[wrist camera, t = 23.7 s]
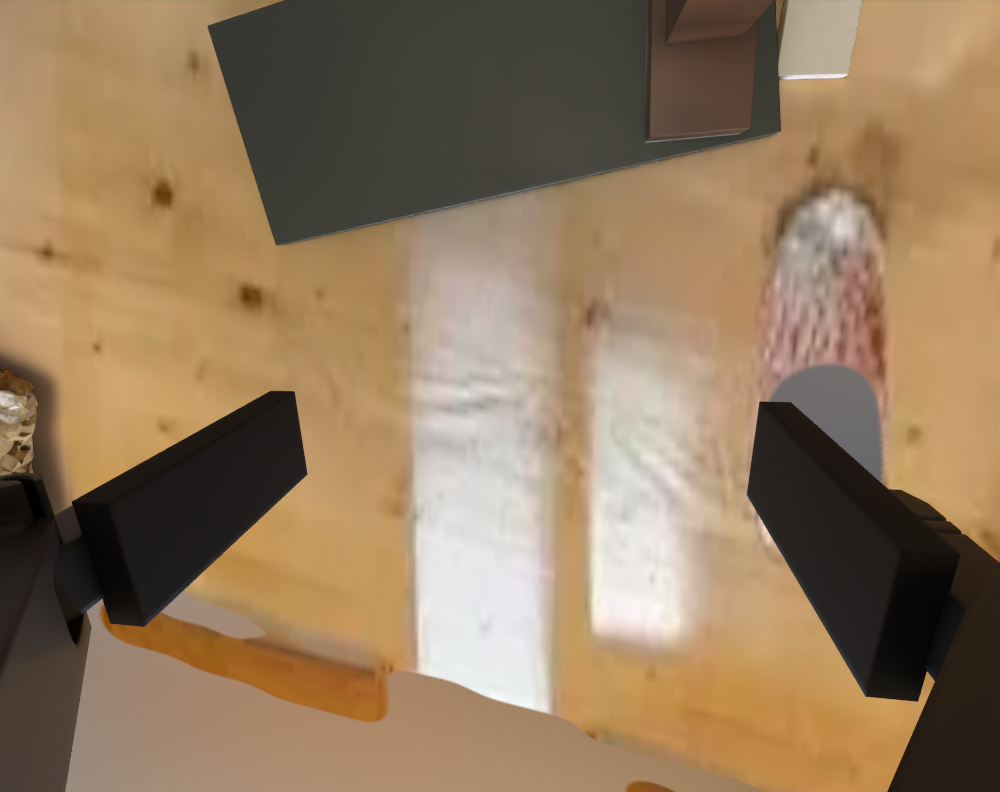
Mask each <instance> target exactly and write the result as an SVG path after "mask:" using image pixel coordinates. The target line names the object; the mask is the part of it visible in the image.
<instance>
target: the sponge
mask: <svg viewBox="0 0 1000 792" xmlns="http://www.w3.org/2000/svg"><path fill="white" fill-rule="evenodd" d="M32 389H35V387H34V386H33V385H32V384H31V383H30V382H29V381H28V380H25V379H22V378H18V377H16V376H15V375H13V374H12V373H11V371H8V370H1V369H0V476H3V475H9V474H16V473H33V470H32V462H31V460H32V459H33V457H34V454H33V443H32V435H33V433H34V431H35V422H36V417H37V413H38V403H37V400H36V397H35V395H34V394H33V393H32Z"/></svg>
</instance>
